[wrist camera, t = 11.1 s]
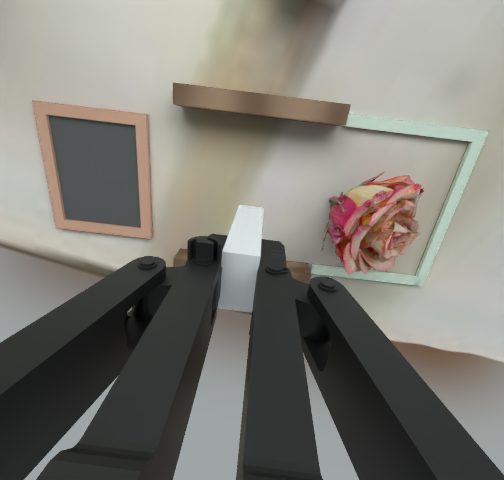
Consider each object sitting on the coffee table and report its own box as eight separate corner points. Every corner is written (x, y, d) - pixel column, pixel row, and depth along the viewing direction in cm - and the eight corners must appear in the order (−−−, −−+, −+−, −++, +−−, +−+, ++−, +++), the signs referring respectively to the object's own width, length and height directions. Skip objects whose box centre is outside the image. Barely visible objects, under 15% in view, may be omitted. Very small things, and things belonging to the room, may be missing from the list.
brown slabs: (341, 106, 23) (350, 104, 21) (304, 275, 30) (308, 287, 28) (181, 87, 23) (172, 82, 21) (180, 260, 30) (173, 272, 27)
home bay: (485, 131, 24) (488, 131, 23) (420, 284, 30) (422, 286, 30) (346, 113, 23) (347, 113, 23) (310, 271, 30) (310, 273, 29)
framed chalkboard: (148, 114, 24) (145, 114, 24) (152, 237, 29) (151, 238, 28) (36, 101, 24) (32, 100, 23) (59, 226, 29) (56, 228, 28)
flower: (286, 242, 27) (344, 300, 21) (315, 151, 21) (401, 197, 16) (350, 228, 31) (409, 272, 26) (386, 151, 26) (469, 187, 21)
